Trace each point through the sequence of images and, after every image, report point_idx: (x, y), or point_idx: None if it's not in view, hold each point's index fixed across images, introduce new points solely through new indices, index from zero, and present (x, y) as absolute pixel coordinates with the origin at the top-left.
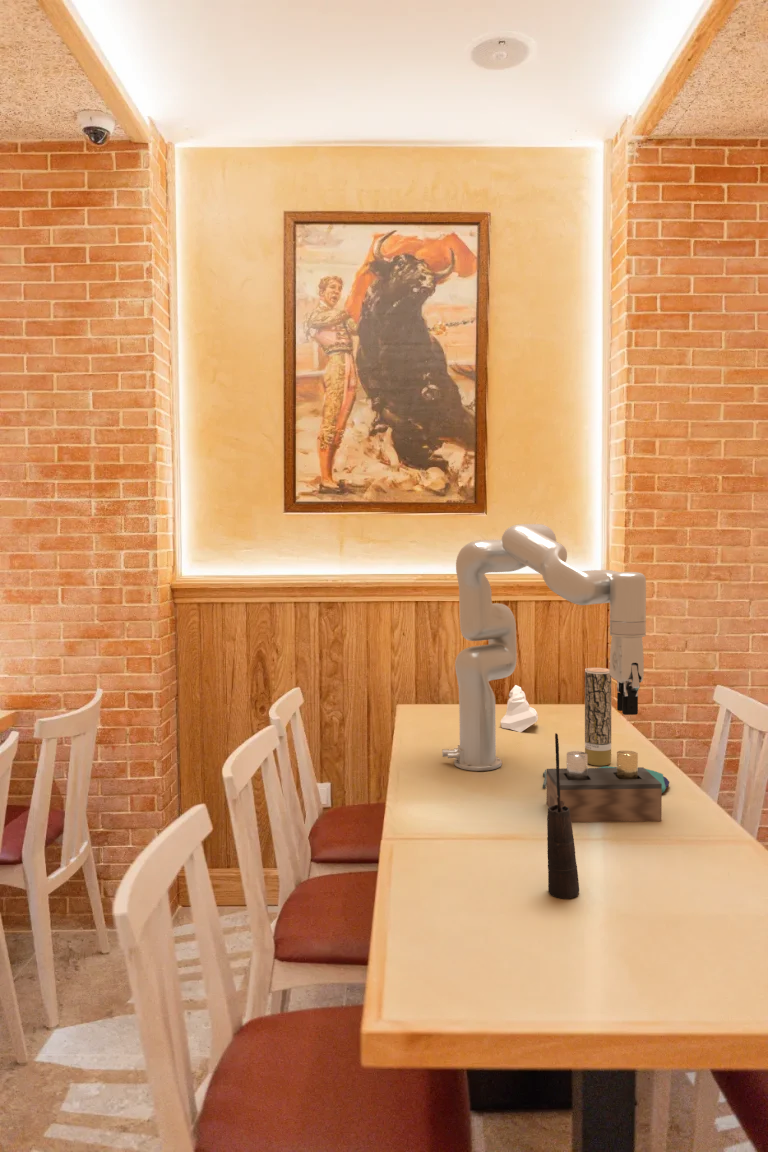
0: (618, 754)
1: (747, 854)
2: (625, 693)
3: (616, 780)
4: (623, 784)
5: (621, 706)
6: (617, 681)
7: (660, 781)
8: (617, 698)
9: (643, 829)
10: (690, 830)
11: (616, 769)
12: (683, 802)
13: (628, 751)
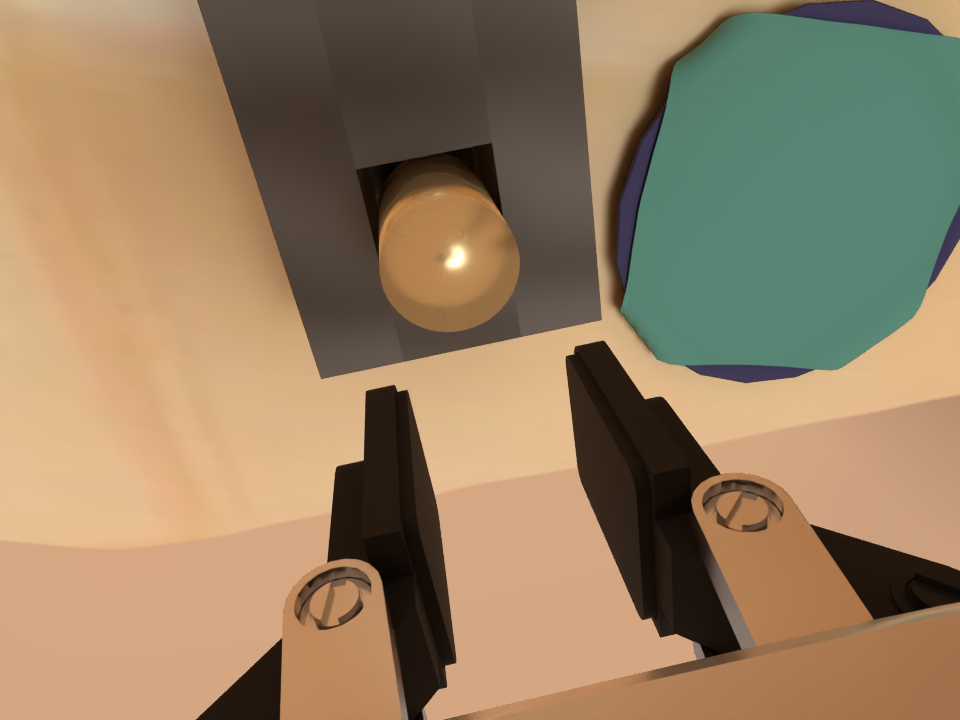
0: (415, 205)
1: (73, 522)
2: (293, 622)
3: (329, 151)
4: (259, 185)
5: (582, 404)
6: (856, 611)
7: (768, 350)
8: (642, 415)
9: (207, 222)
10: (253, 390)
11: (554, 172)
12: (563, 400)
13: (495, 279)
